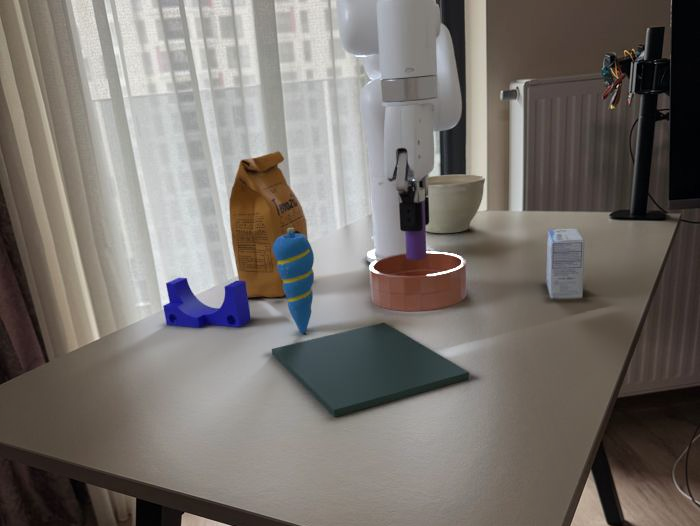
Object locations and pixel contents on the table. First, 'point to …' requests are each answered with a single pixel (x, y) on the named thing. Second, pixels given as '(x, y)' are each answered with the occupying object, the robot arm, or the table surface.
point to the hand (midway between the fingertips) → (415, 226)
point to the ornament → (296, 274)
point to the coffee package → (262, 222)
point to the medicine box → (565, 263)
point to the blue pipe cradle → (197, 314)
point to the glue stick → (417, 235)
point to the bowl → (418, 282)
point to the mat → (366, 367)
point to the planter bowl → (453, 202)
